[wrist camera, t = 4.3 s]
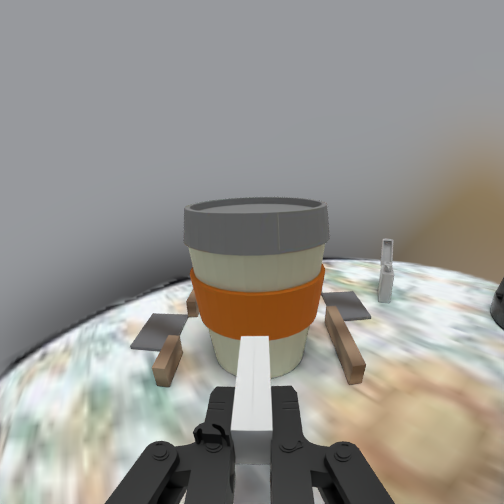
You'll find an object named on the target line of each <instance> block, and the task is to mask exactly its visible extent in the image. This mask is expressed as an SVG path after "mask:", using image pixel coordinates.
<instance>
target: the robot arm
mask: <svg viewBox="0 0 504 504" xmlns="http://www.w3.org/2000/svg"><path fill="white" fill-rule="evenodd" d="M491 314H492V316H493V318H494V319H495V321H496V322H497V323H498V324H499V325H500V326H501V327H502V328H504V278H503V280H502V281H501V283H500V285H499V287H498V289H497V290H496V292H495V295H494V298H493V301H492V305H491ZM193 434H194V438H195V441H196V442H194V443H192V444H189V445H184V446H176V447H174V446H173V445H172V444H170V443H169V442H165V441H156V442H153V443H151V444H149V445H148V446H147V447H146V448H145V450H144V451H143V453H142V454H141V455H140V457H139V458H138V459H137V461H136V462H135V464H134V465H133V466H132V468H131V469H130V470H129V472H128V473H127V474H126V476H125V477H124V479H123V480H122V481H121V483H120V484H119V485H118V487H117V488H116V489H115V491H114V492H113V493H112V495H111V496H110V497H109V499H108V500H107V501H106V503H105V504H179V503H180V501H181V499H182V497H183V496H184V494H185V492H186V490H187V493H186V498H185V503H184V504H233V500H234V487H235V463H236V464H247V465H266V464H270V468H271V471H270V493H271V504H314V498H313V490H312V487H317V488H318V490H319V492H320V494H321V496H322V498H323V500H324V502H325V504H395V503H394V501H393V500H392V498H391V497H390V495H389V494H388V492H387V491H386V489H385V488H384V486H383V485H382V483H381V482H380V480H379V479H378V477H377V476H376V474H375V473H374V471H373V470H372V468H371V467H370V465H369V464H368V462H367V461H366V459H365V457H364V456H363V454H362V453H361V451H360V450H359V448H358V447H357V446H356V445H355V444H352V443H350V442H344V441H342V442H336V443H335V444H333V445H331V446H330V447H326V446H320V445H315V444H313V443H311V442H309V441H308V440H307V439H306V438H305V437H304V435H303V432H302V425H301V418H300V411H299V404H298V397H297V392H296V391H295V390H294V388H293V387H292V386H271V379H270V356H269V336H241V341H240V350H239V359H238V368H237V377H236V386H235V387H216V388H215V389H214V390H213V391H212V393H211V394H210V399H209V404H208V410H207V413H206V418H205V422H204V423H201V424H199V425H198V426H197V427H196V428H195V429H194V431H193Z"/></svg>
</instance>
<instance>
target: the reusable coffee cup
mask: <svg viewBox="0 0 504 504" xmlns="http://www.w3.org/2000/svg"><path fill="white" fill-rule="evenodd" d="M328 240H329V223H328V211H327V203H325V202H322V201H317V200H312V199H303V198H288V197H249V198H232V199H221V200H212V201H205V202H200V203H195V204H191V205H188V206H186V207H185V209H184V243H185V245H187V246H188V247H189V251H190V255H191V260H192V264H193V267H192V269H191V271H190V277H191V281H192V285H193V289H194V293H195V297H196V301H197V304H198V308H199V312H200V316H201V319H202V321H203V323H204V324H205V325H206V326H207V327H208V329H209V332H210V336H211V340H212V343H213V347H214V350H215V354H216V357H217V360H218V363H219V364H220V365H221V367H222V368H223V369H225V370H226V371H227V372H229V373H231V374H233V375H235V376H237V368H238V359H239V350H240V341H241V336H269V356H270V379H272V378H276V377H279V376H282V375H284V374H286V373H289V372H290V371H292V370H293V369H294V368H295V367H296V366H297V365H298V364H299V363H300V361H301V359H302V356H303V351H304V347H305V343H306V339H307V334H308V330H309V325H310V324H311V323H312V322H313V321H314V319H315V317H316V314H317V309H318V305H319V300H320V295H321V290H322V285H323V280H324V275H325V267H324V266H323V264H322V259H323V253H324V247H325V243H326V242H327V241H328Z"/></svg>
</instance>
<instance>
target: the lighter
mask: <svg viewBox="0 0 504 504" xmlns="http://www.w3.org/2000/svg"><path fill="white" fill-rule="evenodd" d="M392 257H393V240H392V239H383V240H382V251H381V272H380V280H379V287H378V301H379V302H381V303H390V299H391V293H392V286H393V280H394V272H393V268H392Z"/></svg>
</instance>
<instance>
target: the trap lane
mask: <svg viewBox="0 0 504 504" xmlns="http://www.w3.org/2000/svg"><path fill="white" fill-rule="evenodd" d="M321 295H322V297H323V299H324V301H325V303H326V305H327V306H326V315H325V324H326V327H327V329H328V332H329V334H330V337H331V339H332V342H333V344H334V347H335V349H336V352H337V354H338V357H339V360H340V362H341V365H342V367H343V370H344V373H345V375H346V378H347V381H348V383H349V385H350V384H358V383H362V379H363V375H364V371H365V367H366V364H365V362H364V360H363V358H362V356H361V354H360V352H359V350H358V348H357V346H356V344H355V342H354V340H353V338H352V336H351V334H350V332H349V330H348V328H347V326H346V324H345V322H344V321H349V320H361V319H371V315H370V314H369V313H368V311H367V310H366V308H365V307H364V306H363V304H362V303H361V301H360V300H359V299H358V297H357V296H356V294H355V293H354V292H353V291H351V292H332V293H322V290H321ZM186 303H187V310H188V315H181V314H154V313H153V314H152V315H151V317H150V318H149V320H148V321H147V323H146V324H145V325H144V327H143V328H142V330H141V331H140V333H139V334H138V336H137V337H136V339H135V340H134V341H133V343H132V344H131V346H130V347H131V349H140V350H151V351H160V353H159V355H158V357H157V358H156V360H155V362H154V364H153V366H152V370H153V374H154V377H155V380H156V383H157V386H164V387H170V384H171V382H172V379H173V376H174V374H175V371H176V369H177V366H178V364H179V361H180V359H181V356H182V354H183V351H182V346H181V341H180V334H181V332H182V329H183V327H184V325H185V323H186V321H187V319H188V317H197V316H198V314H199V308H198V304H197V301H196V297H195V293H194V289H193V290H192V292H191V294H190V296H189V297H188V299H187V301H186Z"/></svg>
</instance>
